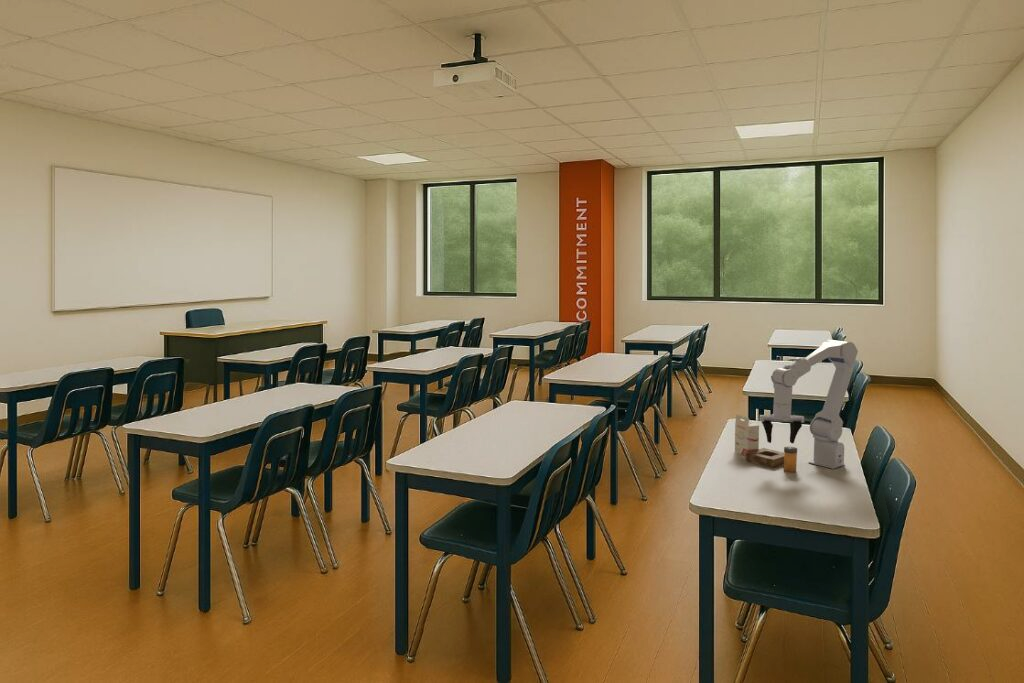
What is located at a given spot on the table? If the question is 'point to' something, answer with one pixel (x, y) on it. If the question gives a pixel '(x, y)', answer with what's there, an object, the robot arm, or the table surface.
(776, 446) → the table surface
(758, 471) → the table surface
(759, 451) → the socket block
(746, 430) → the ink cartridge box
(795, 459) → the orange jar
